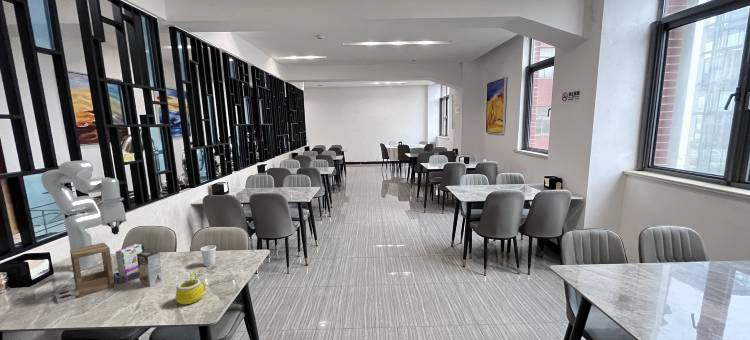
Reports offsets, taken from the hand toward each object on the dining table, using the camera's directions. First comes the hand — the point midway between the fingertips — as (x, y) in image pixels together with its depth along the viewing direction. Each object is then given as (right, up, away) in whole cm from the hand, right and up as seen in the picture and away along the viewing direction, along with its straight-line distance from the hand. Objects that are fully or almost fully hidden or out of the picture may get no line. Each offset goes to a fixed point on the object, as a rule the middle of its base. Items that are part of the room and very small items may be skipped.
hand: (115, 233), depth 178 cm
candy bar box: (+13, -23, -4) cm, 26 cm away
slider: (+9, -22, 0) cm, 24 cm away
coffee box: (+28, -23, -11) cm, 38 cm away
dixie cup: (+47, -20, +10) cm, 52 cm away
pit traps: (-5, -25, -24) cm, 35 cm away
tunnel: (+2, -24, -16) cm, 29 cm away
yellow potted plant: (+59, -24, -30) cm, 71 cm away
